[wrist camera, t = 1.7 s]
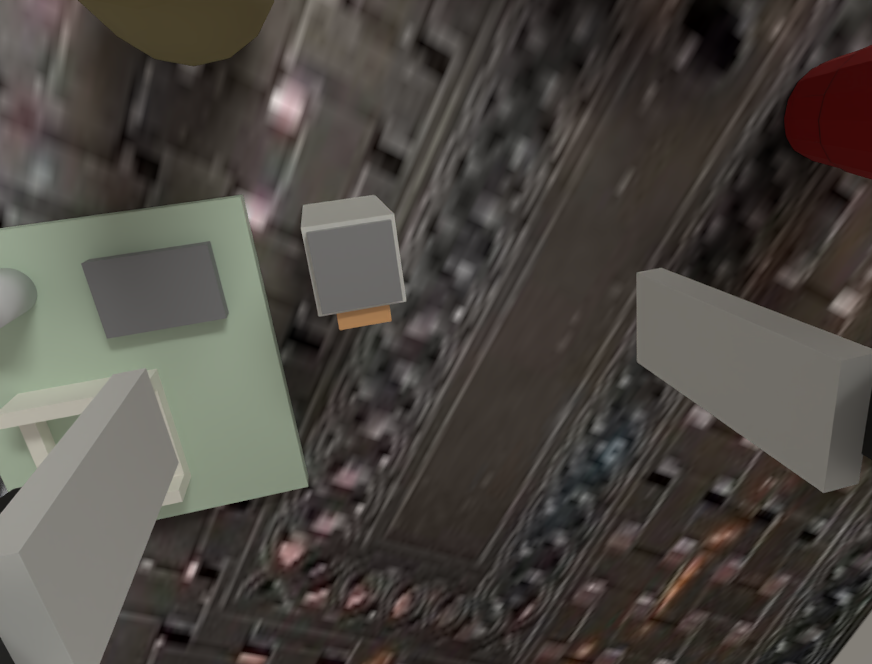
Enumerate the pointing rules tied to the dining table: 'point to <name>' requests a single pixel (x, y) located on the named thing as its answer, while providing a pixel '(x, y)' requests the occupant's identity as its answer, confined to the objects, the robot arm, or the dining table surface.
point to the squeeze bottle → (183, 26)
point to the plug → (353, 259)
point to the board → (149, 344)
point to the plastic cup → (834, 113)
